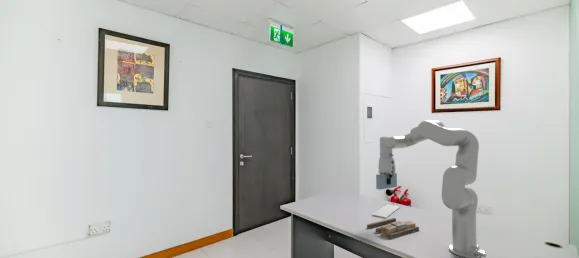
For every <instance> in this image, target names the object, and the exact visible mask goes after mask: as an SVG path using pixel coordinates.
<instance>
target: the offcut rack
mask: <svg viewBox="0 0 579 258" xmlns="http://www.w3.org/2000/svg"><path fill="white" fill-rule="evenodd" d="M403 221H404V220H403ZM403 221H401V222H403ZM393 222H397V218H396V217H393V218H386V219H385V220H380V221H376V222H371V223H368V224H366V228H367V229H369V230H370V229H373V228H375V233H377V234H381V227H382V226H385V225H388V224H391V223H393ZM419 230H420V227H419V226H417V225H415V227H412V228H408V229H405V230H401V231H398V232H394V233H391V234H388V237H387V238H388V239H390V240H391V239H395V238H399V237H400V236H405V235H408V234H411V233H414V232H417V231H418V232H419Z"/></svg>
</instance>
